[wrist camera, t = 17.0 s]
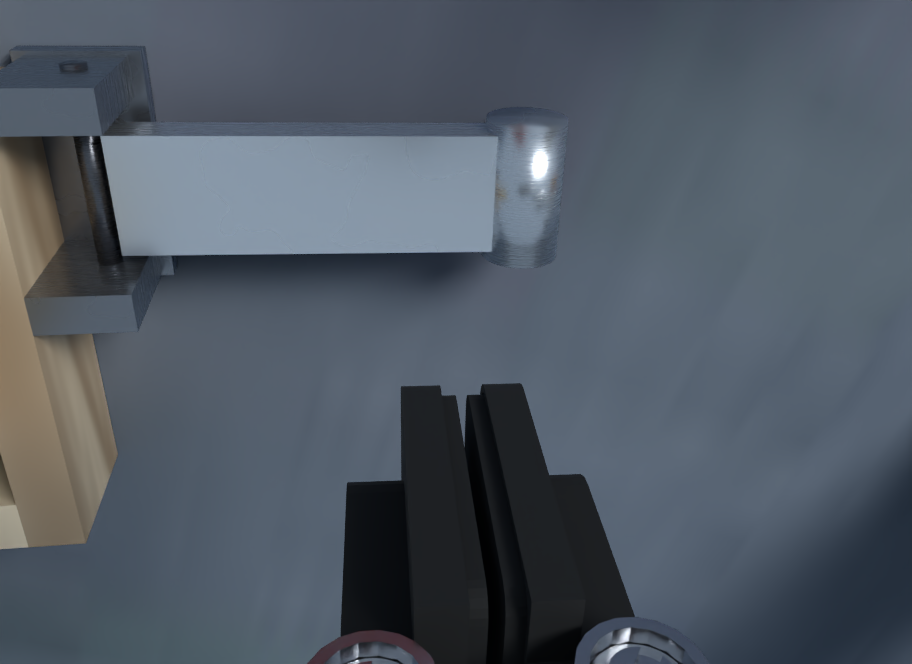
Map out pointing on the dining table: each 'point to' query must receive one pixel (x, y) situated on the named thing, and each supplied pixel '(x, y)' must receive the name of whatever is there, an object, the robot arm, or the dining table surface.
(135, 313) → the bracket
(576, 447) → the dining table surface
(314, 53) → the dining table surface
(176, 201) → the latch bar
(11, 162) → the socket
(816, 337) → the dining table surface
